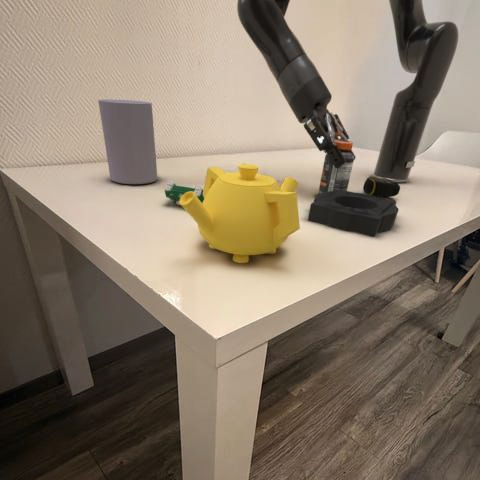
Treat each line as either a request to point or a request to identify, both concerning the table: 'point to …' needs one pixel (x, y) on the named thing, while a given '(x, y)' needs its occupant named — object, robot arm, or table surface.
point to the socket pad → (353, 212)
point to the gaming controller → (182, 192)
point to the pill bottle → (337, 169)
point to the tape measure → (380, 187)
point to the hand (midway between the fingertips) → (346, 163)
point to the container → (129, 141)
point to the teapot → (244, 211)
